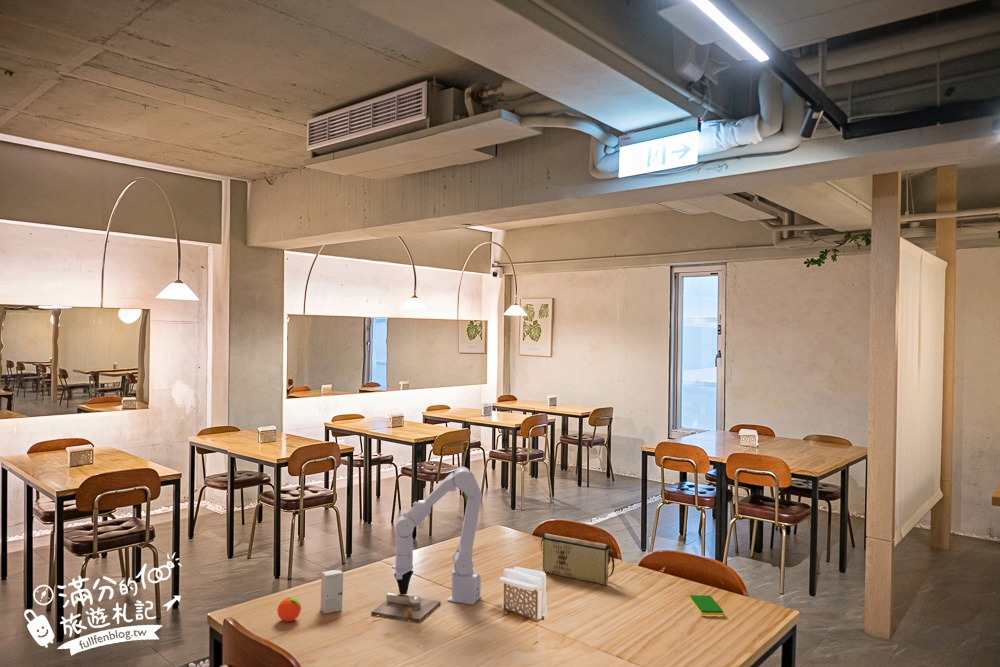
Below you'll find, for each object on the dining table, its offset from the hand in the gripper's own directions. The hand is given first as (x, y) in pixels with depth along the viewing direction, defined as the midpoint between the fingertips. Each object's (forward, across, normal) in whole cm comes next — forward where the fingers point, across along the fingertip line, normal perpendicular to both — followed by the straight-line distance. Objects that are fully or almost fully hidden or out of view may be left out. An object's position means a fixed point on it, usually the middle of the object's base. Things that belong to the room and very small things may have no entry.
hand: (403, 593), depth 224 cm
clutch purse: (+2, -32, +59) cm, 67 cm away
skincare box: (+2, +11, -21) cm, 24 cm away
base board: (+2, +7, +3) cm, 8 cm away
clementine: (+2, +21, -30) cm, 37 cm away
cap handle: (+1, +6, +2) cm, 6 cm away
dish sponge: (+3, -7, +101) cm, 101 cm away
